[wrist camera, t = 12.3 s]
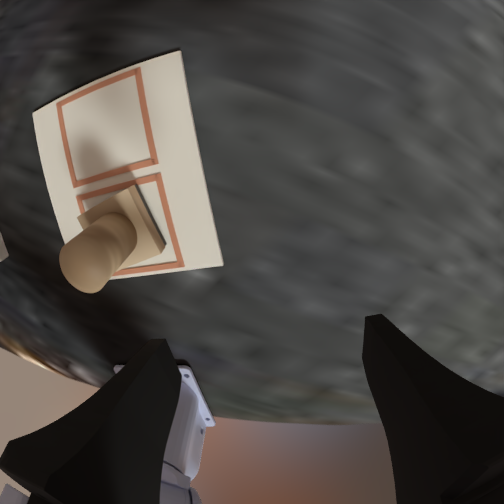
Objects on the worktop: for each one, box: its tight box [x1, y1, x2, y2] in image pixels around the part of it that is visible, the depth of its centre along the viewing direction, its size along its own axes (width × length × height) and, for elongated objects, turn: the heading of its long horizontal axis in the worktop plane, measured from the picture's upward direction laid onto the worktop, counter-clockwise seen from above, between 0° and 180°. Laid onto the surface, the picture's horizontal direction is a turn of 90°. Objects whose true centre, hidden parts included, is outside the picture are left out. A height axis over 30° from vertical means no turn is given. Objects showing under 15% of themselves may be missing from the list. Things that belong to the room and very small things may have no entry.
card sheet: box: [33, 51, 224, 280], centre depth 18 cm, size 14×12×1 cm
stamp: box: [59, 184, 167, 293], centre depth 16 cm, size 4×4×6 cm
